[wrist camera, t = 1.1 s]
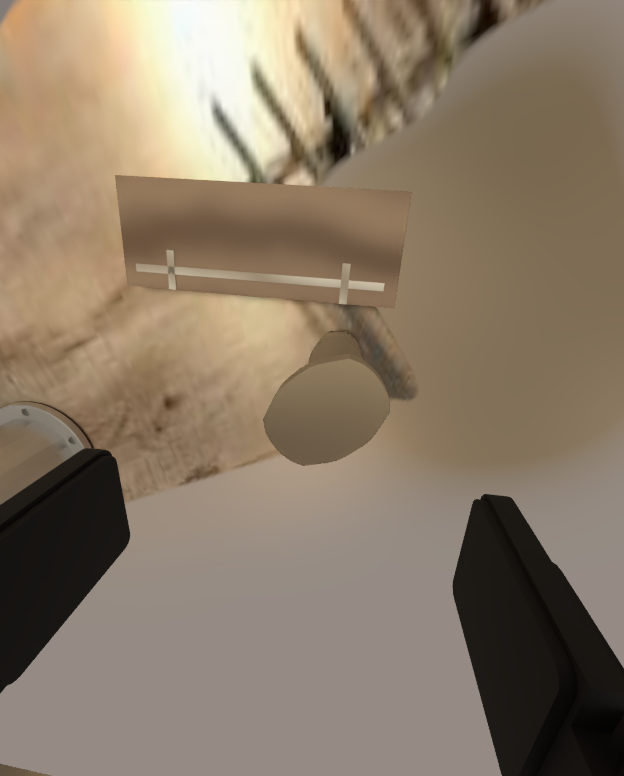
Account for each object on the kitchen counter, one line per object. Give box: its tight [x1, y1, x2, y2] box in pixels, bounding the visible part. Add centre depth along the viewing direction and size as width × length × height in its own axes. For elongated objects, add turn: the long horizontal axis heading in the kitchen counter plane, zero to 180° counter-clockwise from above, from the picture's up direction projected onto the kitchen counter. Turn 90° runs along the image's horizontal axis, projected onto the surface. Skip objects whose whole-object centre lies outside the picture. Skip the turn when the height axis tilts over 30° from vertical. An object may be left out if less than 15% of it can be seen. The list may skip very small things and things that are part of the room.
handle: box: [263, 330, 390, 466], centre depth 24 cm, size 5×6×15 cm
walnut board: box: [115, 175, 412, 308], centre depth 28 cm, size 8×22×3 cm, turn 85°
